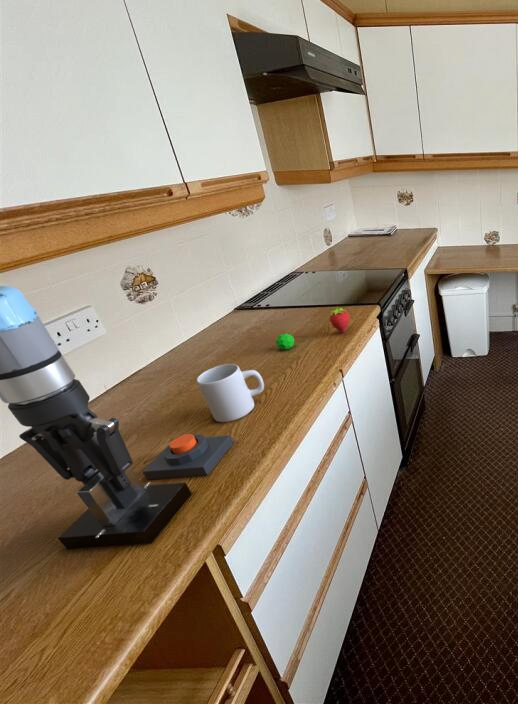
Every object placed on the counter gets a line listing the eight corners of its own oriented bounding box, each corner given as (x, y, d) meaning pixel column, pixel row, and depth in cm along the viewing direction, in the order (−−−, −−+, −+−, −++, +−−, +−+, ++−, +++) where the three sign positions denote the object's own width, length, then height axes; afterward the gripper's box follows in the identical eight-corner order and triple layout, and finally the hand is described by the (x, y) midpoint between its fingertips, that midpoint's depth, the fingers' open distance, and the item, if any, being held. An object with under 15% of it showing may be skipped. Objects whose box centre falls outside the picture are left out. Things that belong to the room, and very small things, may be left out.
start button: (168, 455, 81) (164, 448, 80) (182, 441, 85) (178, 434, 84) (188, 453, 81) (184, 447, 80) (201, 439, 85) (198, 433, 84)
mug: (213, 427, 94) (194, 388, 89) (215, 409, 100) (197, 371, 95) (271, 407, 99) (256, 369, 94) (269, 391, 106) (254, 355, 101)
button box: (146, 479, 80) (137, 464, 78) (178, 447, 88) (171, 432, 87) (207, 475, 80) (199, 460, 79) (234, 443, 88) (227, 428, 87)
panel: (63, 553, 67) (52, 540, 65) (120, 496, 77) (112, 484, 75) (148, 546, 67) (139, 534, 65) (194, 491, 77) (187, 479, 75)
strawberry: (354, 326, 138) (347, 299, 134) (352, 336, 131) (344, 307, 127) (335, 329, 137) (328, 302, 132) (332, 339, 130) (324, 311, 126)
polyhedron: (299, 346, 127) (294, 333, 125) (284, 353, 123) (279, 340, 121) (290, 343, 130) (286, 329, 128) (275, 350, 126) (270, 336, 124)
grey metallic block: (113, 525, 67) (87, 490, 64) (101, 526, 67) (75, 491, 64) (146, 491, 74) (124, 457, 70) (135, 492, 74) (113, 458, 70)
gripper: (116, 372, 63) (180, 482, 73) (18, 379, 63) (97, 488, 73) (70, 402, 56) (148, 518, 66) (-39, 410, 56) (56, 525, 66)
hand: (121, 502), depth 70 cm, fingers closed on grey metallic block, 2 cm apart
